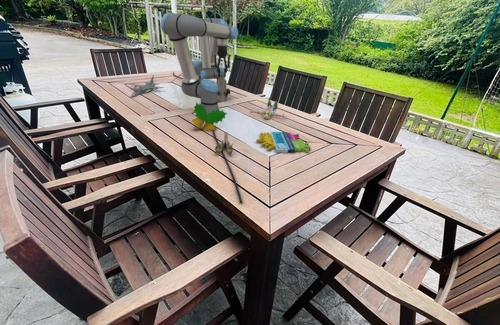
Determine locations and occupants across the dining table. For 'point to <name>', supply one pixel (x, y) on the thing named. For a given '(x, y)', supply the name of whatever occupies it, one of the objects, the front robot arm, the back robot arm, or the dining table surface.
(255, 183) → the dining table surface
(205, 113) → the ornament
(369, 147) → the dining table surface
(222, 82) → the bottle
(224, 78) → the back robot arm
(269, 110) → the toy
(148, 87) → the airplane
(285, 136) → the sign
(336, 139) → the dining table surface
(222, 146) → the jawbone
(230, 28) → the front robot arm
